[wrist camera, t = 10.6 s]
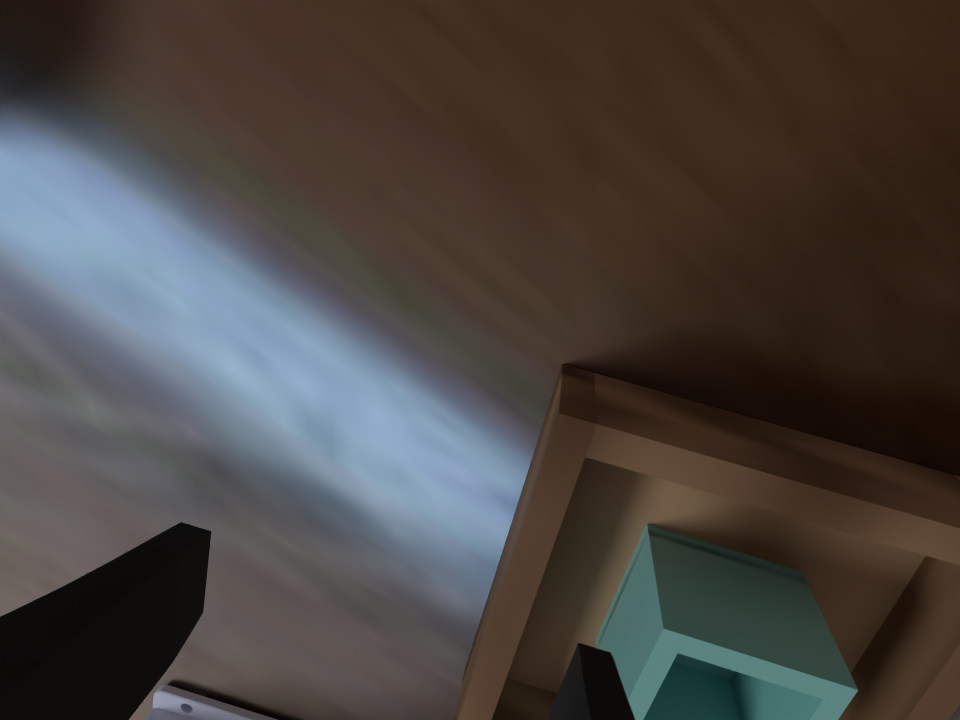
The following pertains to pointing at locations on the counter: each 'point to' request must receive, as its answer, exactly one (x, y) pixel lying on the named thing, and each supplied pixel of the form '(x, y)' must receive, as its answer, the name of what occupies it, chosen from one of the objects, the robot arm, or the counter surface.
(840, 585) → the big crate
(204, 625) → the counter surface
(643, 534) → the small crate
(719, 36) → the counter surface
